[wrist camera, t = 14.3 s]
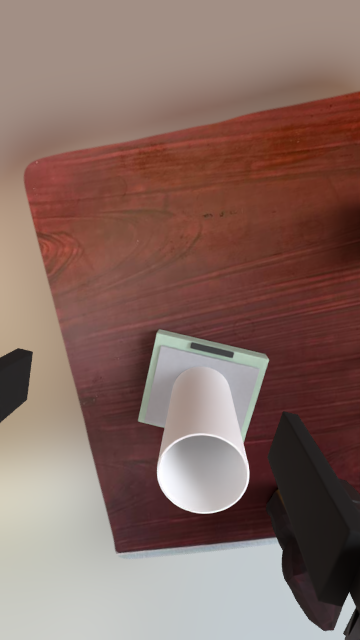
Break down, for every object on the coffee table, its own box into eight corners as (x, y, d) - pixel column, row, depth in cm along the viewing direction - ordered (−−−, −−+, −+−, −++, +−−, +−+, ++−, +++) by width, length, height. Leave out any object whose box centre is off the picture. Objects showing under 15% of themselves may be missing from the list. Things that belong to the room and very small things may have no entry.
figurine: (317, 515, 48) (370, 628, 33) (278, 529, 49) (312, 645, 34) (293, 467, 46) (337, 564, 32) (252, 483, 47) (277, 584, 33)
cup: (169, 367, 41) (152, 434, 25) (229, 364, 40) (248, 431, 25) (174, 421, 43) (160, 514, 27) (231, 419, 42) (251, 513, 26)
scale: (140, 413, 46) (136, 423, 43) (159, 328, 43) (156, 334, 40) (240, 437, 46) (242, 449, 43) (265, 354, 43) (270, 361, 40)
